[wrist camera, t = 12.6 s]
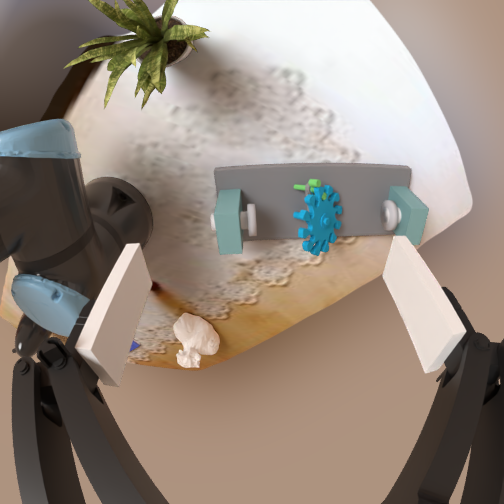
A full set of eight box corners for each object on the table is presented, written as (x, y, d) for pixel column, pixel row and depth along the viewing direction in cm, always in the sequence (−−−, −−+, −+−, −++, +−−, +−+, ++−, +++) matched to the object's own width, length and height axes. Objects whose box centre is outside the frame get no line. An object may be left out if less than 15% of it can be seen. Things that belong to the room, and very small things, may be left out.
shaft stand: (221, 237, 47) (215, 272, 40) (211, 168, 40) (202, 193, 33) (397, 229, 46) (419, 260, 38) (409, 165, 39) (438, 189, 31)
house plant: (101, 57, 29) (28, 63, 15) (164, -16, 23) (113, -54, 10) (169, 109, 34) (120, 135, 21) (239, 37, 29) (229, 12, 15)
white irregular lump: (177, 303, 60) (150, 346, 55) (192, 307, 54) (162, 356, 49) (216, 331, 65) (193, 371, 60) (234, 337, 59) (208, 381, 54)
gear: (346, 239, 43) (309, 269, 38) (316, 232, 47) (277, 258, 42) (342, 170, 38) (301, 189, 33) (310, 168, 42) (265, 185, 37)
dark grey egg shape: (23, 302, 59) (-1, 342, 47) (42, 300, 58) (17, 344, 46) (42, 326, 65) (22, 366, 53) (62, 326, 64) (42, 369, 52)
